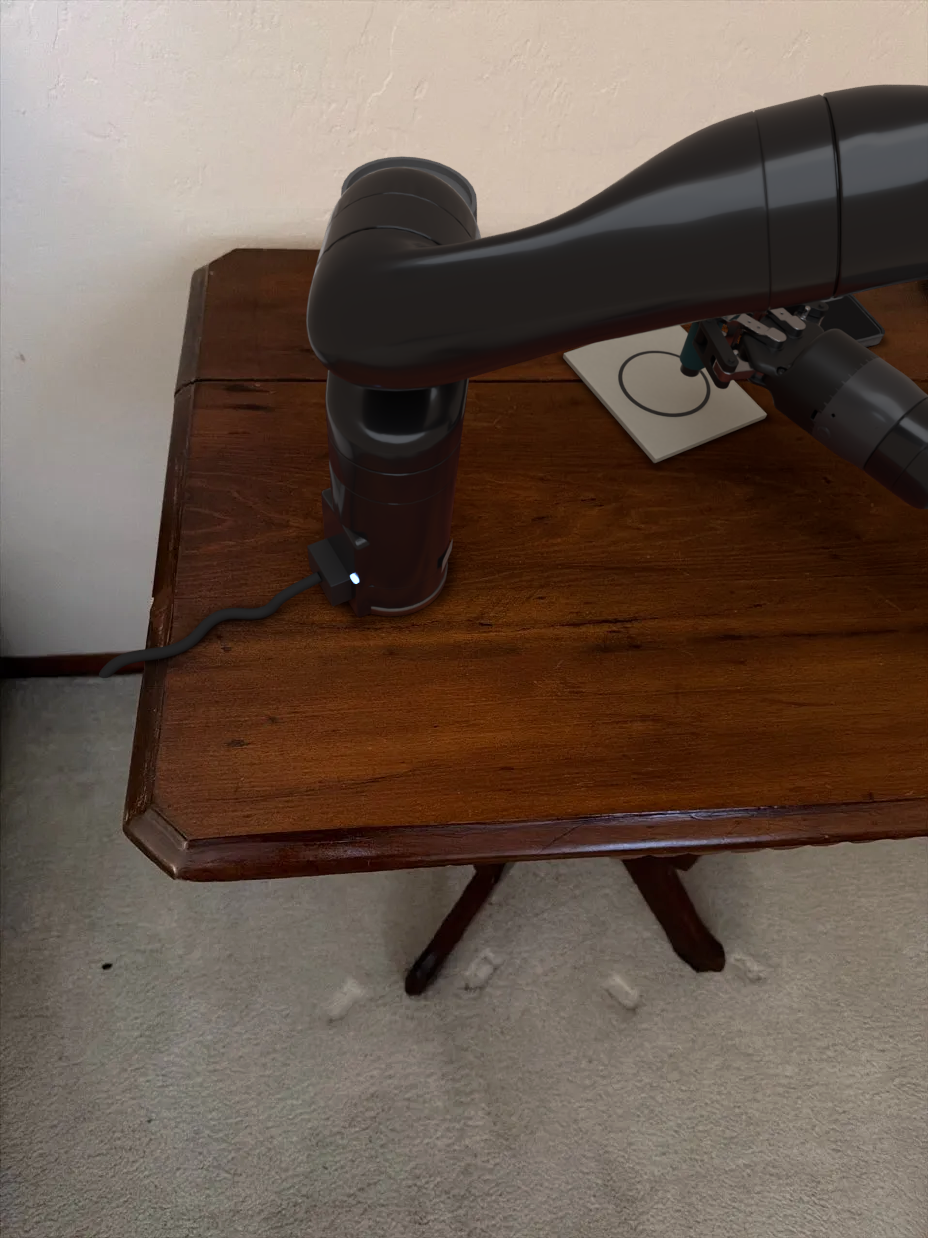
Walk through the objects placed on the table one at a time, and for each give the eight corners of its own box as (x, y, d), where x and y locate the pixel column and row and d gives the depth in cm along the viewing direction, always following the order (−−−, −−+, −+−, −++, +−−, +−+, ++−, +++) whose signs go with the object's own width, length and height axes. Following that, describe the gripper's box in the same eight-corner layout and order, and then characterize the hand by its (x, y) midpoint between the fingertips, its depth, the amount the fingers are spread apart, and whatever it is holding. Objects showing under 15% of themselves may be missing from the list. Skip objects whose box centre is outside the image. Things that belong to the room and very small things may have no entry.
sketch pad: (654, 463, 83) (656, 458, 83) (562, 357, 90) (563, 352, 90) (765, 418, 88) (767, 413, 87) (669, 320, 95) (671, 315, 94)
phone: (734, 313, 95) (848, 289, 98) (731, 321, 96) (843, 297, 99) (773, 361, 91) (890, 334, 95) (769, 370, 92) (885, 343, 96)
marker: (706, 380, 81) (758, 255, 70) (678, 380, 80) (725, 255, 70) (700, 360, 82) (749, 234, 71) (672, 360, 82) (717, 234, 71)
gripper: (923, 329, 69) (756, 217, 76) (816, 401, 64) (645, 274, 70) (877, 399, 76) (726, 291, 82) (777, 471, 70) (623, 349, 76)
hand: (690, 284), depth 76 cm, fingers closed on marker, 2 cm apart
